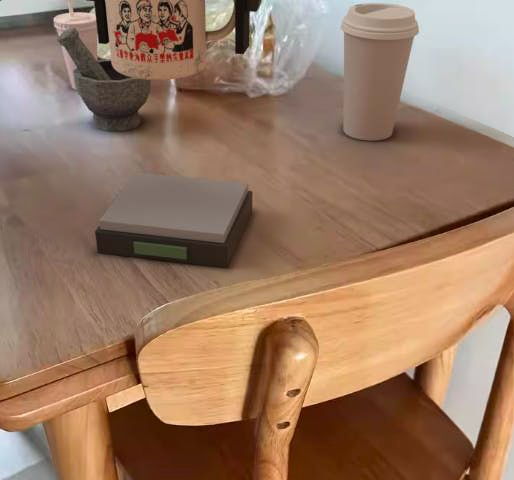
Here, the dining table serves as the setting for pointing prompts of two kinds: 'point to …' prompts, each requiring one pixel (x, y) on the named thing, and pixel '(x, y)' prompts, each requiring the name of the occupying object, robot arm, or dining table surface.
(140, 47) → the teacup with lid
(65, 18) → the smoothie
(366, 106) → the coffee cup
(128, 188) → the scale
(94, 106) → the mortar and pestle
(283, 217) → the dining table surface
